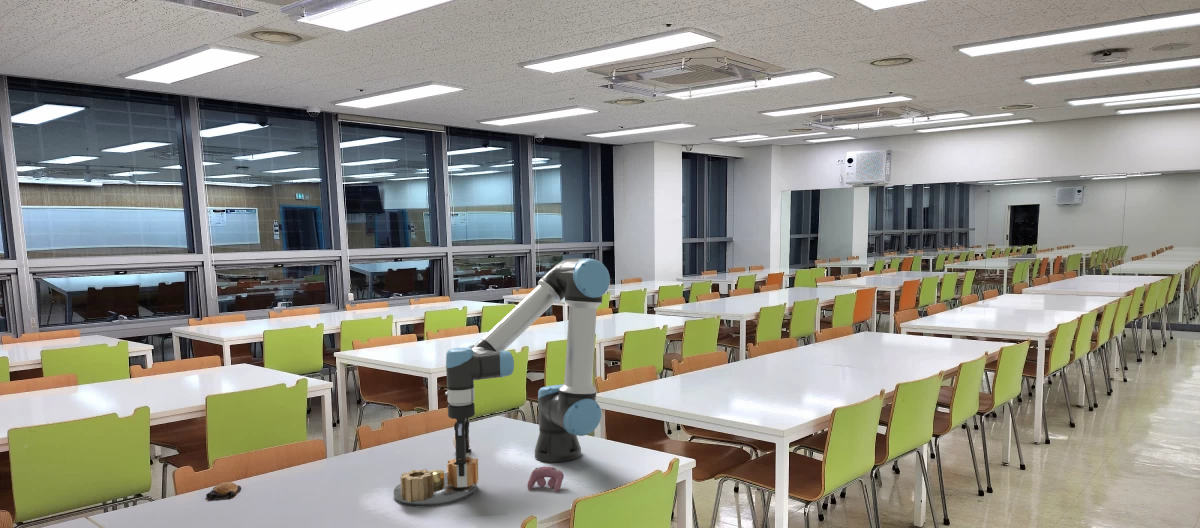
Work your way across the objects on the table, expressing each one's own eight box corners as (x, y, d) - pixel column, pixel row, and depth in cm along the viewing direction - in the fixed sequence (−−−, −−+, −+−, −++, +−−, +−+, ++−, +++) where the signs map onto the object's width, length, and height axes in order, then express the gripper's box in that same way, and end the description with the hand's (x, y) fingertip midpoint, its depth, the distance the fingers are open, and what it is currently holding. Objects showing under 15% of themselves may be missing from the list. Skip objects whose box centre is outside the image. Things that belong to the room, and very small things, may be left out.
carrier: (479, 475, 220) (478, 451, 219) (473, 503, 197) (472, 476, 197) (401, 480, 217) (400, 455, 217) (386, 509, 195) (385, 481, 194)
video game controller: (563, 493, 207) (566, 468, 210) (557, 491, 203) (561, 466, 206) (531, 491, 210) (535, 466, 213) (525, 488, 206) (529, 463, 209)
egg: (462, 448, 249) (461, 425, 249) (473, 450, 246) (472, 427, 246) (450, 452, 245) (449, 429, 244) (461, 455, 242) (460, 431, 241)
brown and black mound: (213, 491, 215) (212, 479, 215) (244, 488, 217) (243, 476, 217) (202, 504, 204) (201, 491, 204) (235, 500, 206) (234, 487, 206)
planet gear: (479, 476, 213) (478, 456, 212) (477, 486, 204) (476, 465, 204) (449, 477, 212) (449, 457, 211) (446, 487, 203) (445, 466, 203)
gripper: (451, 395, 217) (454, 470, 218) (443, 412, 196) (446, 495, 197) (476, 394, 218) (479, 468, 219) (471, 410, 197) (474, 493, 198)
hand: (463, 481), depth 208 cm, fingers closed on planet gear, 8 cm apart
